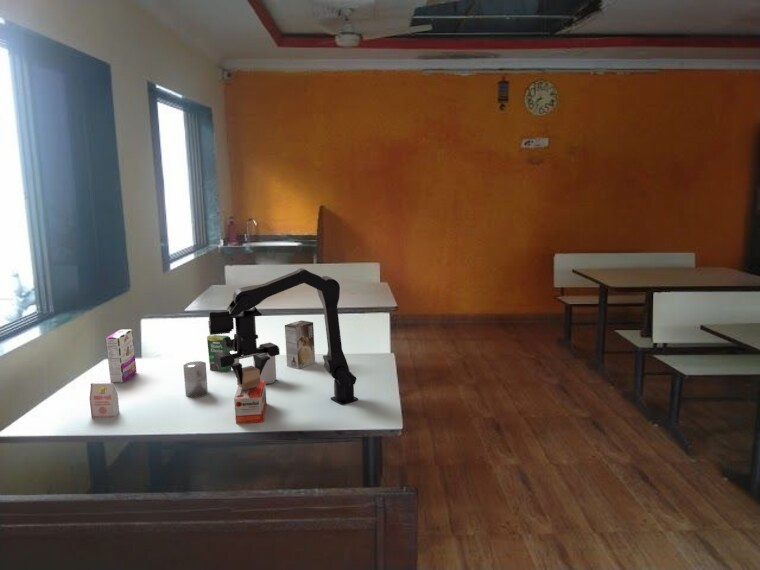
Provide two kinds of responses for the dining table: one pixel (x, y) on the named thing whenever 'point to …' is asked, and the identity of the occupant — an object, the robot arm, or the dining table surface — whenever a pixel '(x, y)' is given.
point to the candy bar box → (121, 356)
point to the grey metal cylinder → (195, 379)
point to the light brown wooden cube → (250, 377)
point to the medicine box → (250, 404)
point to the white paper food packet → (103, 400)
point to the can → (268, 370)
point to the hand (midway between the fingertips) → (248, 382)
